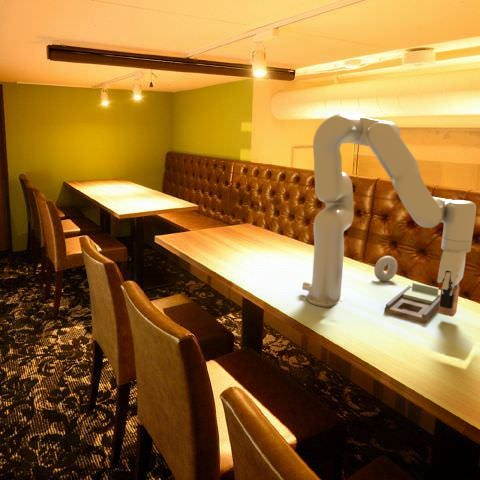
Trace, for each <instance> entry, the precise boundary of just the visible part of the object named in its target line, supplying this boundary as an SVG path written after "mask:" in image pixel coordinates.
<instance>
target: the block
mask: <svg viewBox="0 0 480 480" xmlns="http://www.w3.org/2000/svg"><path fill="white" fill-rule="evenodd" d="M442 287H443V285H442V286H441V287H440V293H439V294H440V300H441V293H442ZM449 288H450V289H451V287H449ZM459 294H460V286H459V285H458V286H454V290H453V295H454V298H453V305H452V308H451V309H449V308H445V307H441V306H440V301H439V308H438V310H437V313H438V314H439V315H443V316H448V317H452V318H453V317H454V316H455V315H456V313H457V309H458V302H459V296H460V295H459Z"/></svg>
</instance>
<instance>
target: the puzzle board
mask: <svg viewBox="0 0 480 480" xmlns="http://www.w3.org/2000/svg"><path fill="white" fill-rule="evenodd" d="M410 288H412V286H411V285H408V286H407V287H405V288H404V289H403V290H402V291H401V292H400V293H398V294H397V295H396V296H394V297H393V298H392V299H390V300H389V301H388V302H387V303H386V304H385V307H384V312H383V313H385V314H388V315H392V316H395V317H400V318H402V319H408V320H409V321H414V322H417V323H422V324H426V323H427V322H428V320H429V319H431V317H432V316H433V315H434V314H435V313H436V312H438V310H439V301H440V296H439V297H438V298H437V299H436V300H435V301H434V302H433V303H432V304H429V303H425V302H421V301H417V300H413V299H409V298H405V297H403V294H404V293H405V292H406V291H408V290H409V289H410Z"/></svg>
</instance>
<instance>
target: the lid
mask: <svg viewBox="0 0 480 480" xmlns="http://www.w3.org/2000/svg"><path fill="white" fill-rule="evenodd" d="M411 287H412V288H410V289H409V290H408V291H406V292H405V293H404V294H403V297H405V298H409V299H413V300H417V301H421V302H425V303H429V304H432V303H433V302H434V301H435V300H436V299H437V298H438V297H439V296H440V293H439V290H440V288H439V287H436V286H431V285H428V284H423V283H418V282H412V286H411Z"/></svg>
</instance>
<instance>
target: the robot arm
mask: <svg viewBox="0 0 480 480" xmlns="http://www.w3.org/2000/svg"><path fill="white" fill-rule="evenodd" d="M317 127H318V128H317V129H316V132H315V134H314V136H313V144H312V148H313V149H312V150H313V171H314V191H315V196H316V197H317V199H318V200H319V201H320V202H323V203H324V205H325V207H324V208H323V209H321V210H320V211H319V212H318V213H317V214H316V215H315V218H314V220H313V241H314V244H313V245H314V247H313V263H312V265H313V266H312V280H311V283H309V282H306V281H305V282H303V283H302V287H301V288H302V290H304V291H307V292H308V293H307V294H306V300H307V302H308V303H310V304H312V305H315V306H318V307H321V308H322V307H324V308H334V307H335V306H337V305H338V304H339V303H342V302H343V301H345V299H346V298H345V296H344V295H342V293H341V292H342V282H343V281H342V280H343V270H344V269H343V268H344V257H345V256H344V252H345V238H344V237H345V236H344V235H345V234H344V232H345V231H347V230H348V229H349V228H350V227H351V226H352V224H353V221H354V217H355V214H354V212H355V211H354V210H355V209H354V191H353V190H354V189H353V188H354V187H353V182H352V180H351V178H350V176H349V174H347V173H346V172H343V160H342V153H341V146H342V144H356V145H360V146H365V147H369V149H370V150H371V152H372V153H373V155H374V156H375V158H376V159H377V161H378V162H379V164H380V166H381V167H382V168H383V170H384V171H385V173H386V175H387V176H388V178H389V179H390V182H391V184H392V186H393V188H394V190H395V191H396V194H397V196H398V198H399V199H400V201H401V203H402V205H403V206H404V208H405V209H406V211H407V212H408V213H409V215H410V217H411V218H412V220H413V221H414V222H415V223H416V224H417V225H419V226H420V227H421V228H422V227H423V228H428V229H431V228H434V227H437V226H438V225H439V224H440V223H443V228H442V230H443V231H442V238H441V245H440V248H441V250H443V251H442V254H441V257H440V263H439V269H438V273H437V281H436V282H437V283H438V284H441V283H442V286H443V287H442V286H441V287H442V293H441V292H440V293H441V300H440V306H441V307H445V308H449V309H451V308H452V305H453V298H454V295H453V290H454V286H458V287H459V283H460V281H462V280H463V277H464V272H465V267H466V257H467V253H470V252H471V250H472V242H473V234H474V229H475V228H474V227H475V221H476V215H477V214H476V213H477V205H476V203H475V202H473V201H470V200H464V199H454V200H453V199H448V198H447V199H446V198H442V197H436V196H433V195H432V194H431V192H430V191H429V189H428V188H427V186H426V184H425V182H424V179H422V175H421V172H420V167H419V163H418V161H417V159H416V158H415V157H414V155H413V154H412V151H411V150H410V149H409V147H408V146H407V144H406V143H405V142H404V140H403V138H402V137H401V130H400V128H399V126H398V125H397V124H396V123H394V121H393V122H392V121H388V120H379V119H373V118H370V117H364V116H360V115H354V114H346V113H340V114H339V113H337V114H334V115H333V116H330V117H329V118H327V119H325V120H324V121H323V122H322V123H321V124H320V125H319V126H317ZM449 287H451V289H450V288H449Z"/></svg>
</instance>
